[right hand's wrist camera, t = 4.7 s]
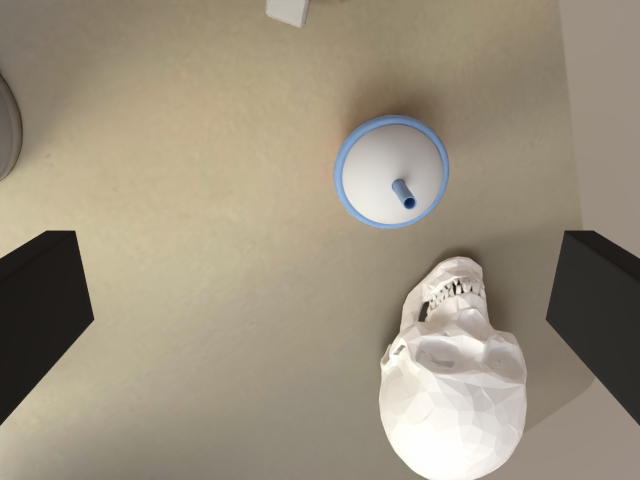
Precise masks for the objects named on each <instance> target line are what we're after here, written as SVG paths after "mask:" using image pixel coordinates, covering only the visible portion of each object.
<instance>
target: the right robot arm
mask: <svg viewBox="0 0 640 480" xmlns="http://www.w3.org/2000/svg"><path fill="white" fill-rule="evenodd" d="M21 143H22V127H21V120H20V116H19V111H18V108H17V105H16V103H15V100H14V98H13V96H12V94H11V92H10V90H9V88H8V87H7V85H6V83H5V82H4V80H3V79H2V78H1V76H0V181H1V180H2V179H3V178H4V177H5V176H6V175H7V174H8V173H9V172H10V171H11V169H12V168H13V166H14V165H15V163H16V161H17V158H18V156H19V153H20V149H21ZM93 320H94V316H93V311H92V307H91V302H90V297H89V293H88V288H87V283H86V279H85V274H84V269H83V265H82V260H81V255H80V251H79V246H78V242H77V237H76V232H75V231H45V232H43V233H42V234H40V235H38V236H37V237H35V238H34V239H32V240H30V241H29V242H27V243H25V244H24V245H22V246H20V247H19V248H17V249H15V250H14V251H12V252H10V253H9V254H7V255H6V256H4V257H2V258H1V259H0V425H1V424H2V423H3V422H4V421H5V420H6V419H7V418H8V416H9V415H10V414H11V413H12V412H13V411H14V410H15V408H16V407H17V406H18V405H19V404H20V403H21V402H22V401H23V399H24V398H25V397H26V396H27V395H28V394H29V393H30V392H31V390H32V389H33V388H34V387H35V386H36V385H37V384H38V383H39V381H40V380H41V379H42V378H43V377H44V376H45V375H46V373H47V372H48V371H49V370H50V369H51V368H52V367H53V366H54V364H55V363H56V362H57V361H58V360H59V359H60V358H61V357H62V355H63V354H64V353H65V352H66V351H67V350H68V349H69V348H70V346H71V345H72V344H73V343H74V342H75V341H76V340H77V339H78V337H79V336H80V335H81V334H82V333H83V332H84V331H85V329H86V328H87V327H88V326H89V325H90V324H91V323H92V322H93ZM546 320H547V322H548V323H549V324H550V325H551V326H552V327H553V328H554V329H555V331H556V332H557V333H558V334H559V335H560V336H561V337H562V339H563V340H564V341H565V342H566V343H567V344H568V345H569V346H570V348H571V349H572V350H573V351H574V352H575V353H576V354H577V355H578V357H579V358H580V359H581V360H582V361H583V362H584V363H585V364H586V366H587V367H588V368H589V369H590V370H591V371H592V372H593V373H594V375H595V376H596V377H597V378H598V379H599V380H600V381H601V382H602V384H603V385H604V386H605V387H606V388H607V389H608V390H609V392H610V393H611V394H612V395H613V396H614V397H615V398H616V399H617V401H618V402H619V403H620V404H621V405H622V406H623V407H624V408H625V410H626V411H627V412H628V413H629V414H630V415H631V416H632V418H633V419H634V420H635V421H636V422H637V423H638V424H639V425H640V259H639V258H638V257H636V256H634V255H633V254H631V253H629V252H628V251H626V250H624V249H623V248H621V247H620V246H618V245H616V244H615V243H613V242H611V241H610V240H608V239H606V238H605V237H603V236H602V235H600V234H598V233H596V232H595V231H565V232H564V237H563V241H562V246H561V251H560V255H559V260H558V265H557V269H556V274H555V279H554V283H553V288H552V293H551V297H550V302H549V307H548V311H547V316H546Z"/></svg>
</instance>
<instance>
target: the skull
mask: <svg viewBox="0 0 640 480" xmlns="http://www.w3.org/2000/svg"><path fill="white" fill-rule="evenodd" d="M482 277H483V273H482V268H481V267H480V266H479V265H478V264H477V263H475V262H474V261H473V260H471V259H470V258H467V257H459V256H458V257H453V258H448V259H446V260H444V261H442V262H440V263H439V264H438V265H437V266H436V267H435V268H434V269H433V270H432V271H431V272H430V273H429V274H428V275H427V276H426V277H425V278H424V279H423V280H422V281H421V282H420V283H419V284H418V285H417V286H416V287H415V288H414V289H413V290H412V291H411V292H410V293H409V294H408V296H407V299H406V301H405V303H404V306H403V312H402V322H401V325H400V333H399V334H398V336H397V337H396V339H395V340H394V342H393V344H389V346H388V348H387V350H386V353H385V355H384V356H383V357H382V359H381V361H380V363H381V369H382V382H381V387H380V395H379V405H380V414H381V419H382V423H383V426H384V429H385V432H386V434H387V437H388V439H389V441H390V443H391V445H392V447H393V449H394V451H395V452H396V453H397V454H398V455H399V456H400V458H401V459H402V460H403V461H404V462H405V463H406V464H407V465H408V466H409V467H410V468H411V469H412V470H413V471H415V472H416V473H417V474H419V475H421V476H423V477H425V478H427V479H430V480H474V479H477V478H479V477H482V476H484V475H486V474H488V473H490V472H492V471H494V470H495V469H497V468H499V467H500V466H501V465H502V464H503V463H505V462H506V461H507V460H508V458H509V457H510V456H511V454H512V453H513V451H514V449H515V447H516V446H517V444H518V442H519V440H520V438H521V437H522V434H523V429H524V425H525V417H526V408H527V402H526V387H525V383H526V378H527V370H526V365H525V361H524V357H523V353H522V350H521V348H520V346H519V344H518V342H517V340H516V338H515V337H514V336H513V334H512V333H509V332H502V331H498V330H494V329H493V327H492V326H491V324H490V323H489V318H488V312H487V303H486V294H485V292H484V288H485V286H484V284H483V281H482ZM458 280H460V284H462V288H463V291H464V293H463V294H461V285H457V283H458ZM452 283H455V285H456V295H454V292H453V286H452ZM471 286H472V291H471V292H470V289H471ZM446 287H448V288H449V290H450V291H448V289H447V290H446ZM449 295H450V296H449ZM444 297H445V299H444ZM432 300H433V301H432ZM427 301H430V302H429V307H428V310H427V314H428V316H427V317H426V318H425V322H418V319H419V316H420V313H421V310H422V307H423V304H424V303H425V302H427Z"/></svg>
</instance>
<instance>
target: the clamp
mask: <svg viewBox="0 0 640 480" xmlns="http://www.w3.org/2000/svg"><path fill="white" fill-rule="evenodd" d="M309 4H310V0H266V5H265V12H266V14H267V15H268V16H269V17H270V18H273V19H276V20H278V21H281V22H284V23H287V24H290V25H292V26H295V27H298V28H302V27H303V26H304V25H305V23H306V18H307V12H308V8H309Z"/></svg>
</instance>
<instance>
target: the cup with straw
mask: <svg viewBox="0 0 640 480" xmlns="http://www.w3.org/2000/svg"><path fill="white" fill-rule="evenodd" d="M448 178H449V160H448V155H447V152H446V149H445V147H444V145H443V143H442V141H441V139H440V138H439V136H438V135H437V134H436V133H435V132H434V131H433V130H432V129H431V128H430V127H429V126H428V125H426V124H425V123H423V122H421V121H419V120H417V119H415V118H412V117H409V116H405V115H384V116H379V117H376V118H373V119H371V120H368V121H366V122H364V123H363V124H361V125H360V126H358V127H357V128H356V129H355V130H353V131H352V132H351V133H350V134H349V136H348V137H347V138H346V139H345V141H344V142H343V144H342V145H341V147H340V149H339V151H338V154H337V157H336V160H335V164H334V184H335V189H336V192H337V195H338V197H339V199H340V201H341V203H342V204H343V206H344V207H345V208H346V210H347V211H348V212H349V213H350V214H351V215H352V216H353V217H355V218H356V219H358V220H359V221H361V222H363V223H365V224H367V225H369V226H373V227H376V228H383V229H395V228H401V227H405V226H408V225H411V224H413V223H415V222H417V221H419V220H421V219H422V218H424V217H425V216H426V215H427V214H429V213H430V212H431V211H432V210H433V209H434V208H435V206H436V205H437V204H438V202H439V201H440V200H441V198H442V196H443V194H444V192H445V189H446V186H447V183H448Z"/></svg>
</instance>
